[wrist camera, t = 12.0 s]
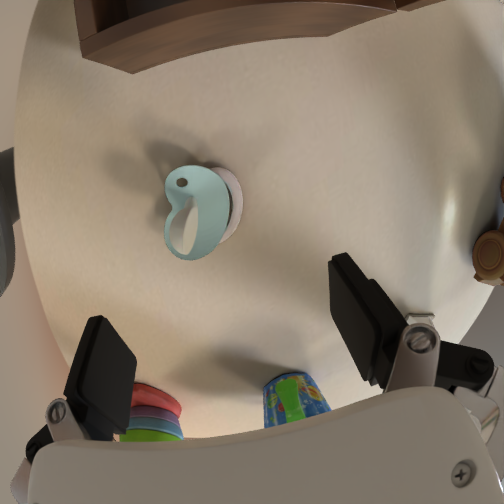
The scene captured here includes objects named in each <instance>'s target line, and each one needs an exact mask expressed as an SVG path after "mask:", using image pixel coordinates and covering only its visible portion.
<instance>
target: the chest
mask: <svg viewBox="0 0 504 504" xmlns="http://www.w3.org/2000/svg"><path fill="white" fill-rule="evenodd" d="M74 7H75V15H76V22H77V28H78V35H79V40H80V48H81V53H82V58H85V59H88V60H91V61H95V62H98V63H101V64H104V65H107V66H110V67H113V68H116V69H119V70H122V71H124V72H127V73H130V74H135V73H138V72H140V71H143V70H146V69H148V68H151V67H154V66H157V65H160V64H163V63H166V62H169V61H172V60H176V59H179V58H182V57H186V56H189V55H193V54H197V53H201V52H205V51H209V50H214V49H218V48H223V47H228V46H233V45H239V44H245V43H251V42H258V41H266V40H275V39H285V38H299V37H328V36H330V35H333V34H335V33H338V32H340V31H343V30H345V29H348V28H350V27H353V26H356V25H358V24H361V23H364V22H367V21H370V20H373V19H376V18H379V17H382V16H385V15H388V14H392V13H395V12H397V9H396V6H395V2H394V0H74Z"/></svg>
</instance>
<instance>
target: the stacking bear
mask: <svg viewBox="0 0 504 504" xmlns="http://www.w3.org/2000/svg"><path fill="white" fill-rule="evenodd" d="M180 414H181V405H180V404H179V403H178V402H177V401H176V400H175V399H174V398H172V397H171V396H169V395H168V394H166V393H164V392H162V391H160V390H157V389H155V388H153V387H150V386H147V385H144V384H134V386H133V394H132V402H131V411H130V420H129V427H128V428H126V435H120V442H162V441H180V440H184V438H183V434H182V430H181V427H180V424H179V420H178V418H179V417H180Z"/></svg>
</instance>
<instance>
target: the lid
mask: <svg viewBox="0 0 504 504" xmlns="http://www.w3.org/2000/svg"><path fill="white" fill-rule="evenodd" d="M394 1H395V5H396V8H397V9H398V10H403V11H412V10H415V9H418V8H421V7H424V6H428V5H431V4H434V3H438V2H441V1H445V0H394Z"/></svg>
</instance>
